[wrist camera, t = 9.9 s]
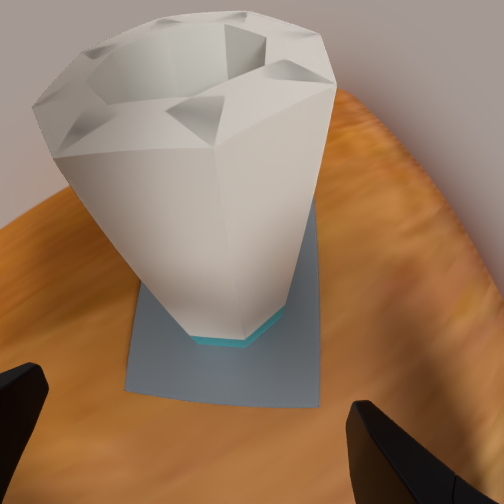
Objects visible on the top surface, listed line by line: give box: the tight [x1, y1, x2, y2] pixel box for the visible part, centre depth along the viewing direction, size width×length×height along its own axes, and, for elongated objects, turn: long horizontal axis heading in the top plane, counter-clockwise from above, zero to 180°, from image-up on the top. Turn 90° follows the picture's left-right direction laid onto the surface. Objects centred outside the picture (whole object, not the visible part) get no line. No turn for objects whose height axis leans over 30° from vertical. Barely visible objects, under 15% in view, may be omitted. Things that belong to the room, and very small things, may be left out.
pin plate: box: [124, 195, 320, 408], centre depth 17 cm, size 16×10×4 cm, turn 177°
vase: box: [32, 11, 337, 348], centre depth 11 cm, size 6×6×13 cm
